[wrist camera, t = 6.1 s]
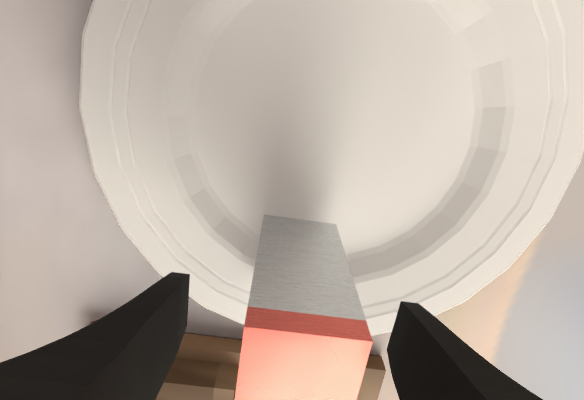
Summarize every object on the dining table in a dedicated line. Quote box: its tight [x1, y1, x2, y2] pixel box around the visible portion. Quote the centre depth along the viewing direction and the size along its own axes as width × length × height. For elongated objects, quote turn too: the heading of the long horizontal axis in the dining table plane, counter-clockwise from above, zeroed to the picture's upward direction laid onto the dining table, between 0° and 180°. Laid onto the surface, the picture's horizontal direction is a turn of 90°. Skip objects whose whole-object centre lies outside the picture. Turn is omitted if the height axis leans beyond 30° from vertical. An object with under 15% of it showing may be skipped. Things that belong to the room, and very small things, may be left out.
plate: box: [79, 0, 584, 336], centre depth 15 cm, size 21×21×2 cm
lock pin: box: [235, 214, 373, 400], centre depth 13 cm, size 3×3×7 cm
